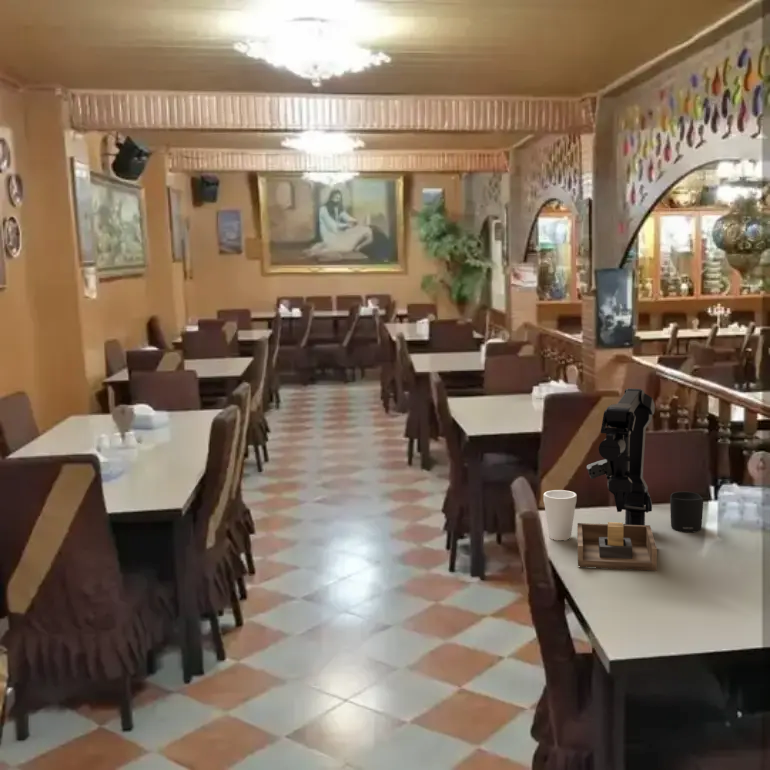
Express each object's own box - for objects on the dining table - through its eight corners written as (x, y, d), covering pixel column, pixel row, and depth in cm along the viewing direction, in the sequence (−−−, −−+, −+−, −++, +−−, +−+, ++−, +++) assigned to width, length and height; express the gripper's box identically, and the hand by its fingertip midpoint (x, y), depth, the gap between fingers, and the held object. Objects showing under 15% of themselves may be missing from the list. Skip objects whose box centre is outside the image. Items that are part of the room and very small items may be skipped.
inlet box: (577, 543, 254) (577, 523, 253) (649, 545, 250) (650, 525, 249) (578, 567, 235) (578, 545, 234) (656, 570, 231) (656, 548, 230)
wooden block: (607, 550, 245) (607, 522, 244) (622, 550, 244) (622, 522, 243) (608, 554, 241) (608, 526, 240) (623, 555, 240) (623, 527, 239)
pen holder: (663, 528, 266) (664, 496, 264) (679, 521, 272) (680, 489, 270) (692, 535, 259) (693, 502, 257) (708, 527, 265) (709, 495, 263)
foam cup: (573, 543, 254) (574, 499, 252) (541, 541, 257) (541, 497, 255) (577, 533, 263) (578, 491, 261) (546, 531, 266) (546, 489, 264)
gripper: (587, 443, 253) (587, 496, 256) (589, 459, 235) (589, 516, 238) (628, 444, 251) (627, 497, 253) (632, 460, 233) (632, 517, 235)
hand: (618, 506), depth 245 cm, fingers open, 9 cm apart
